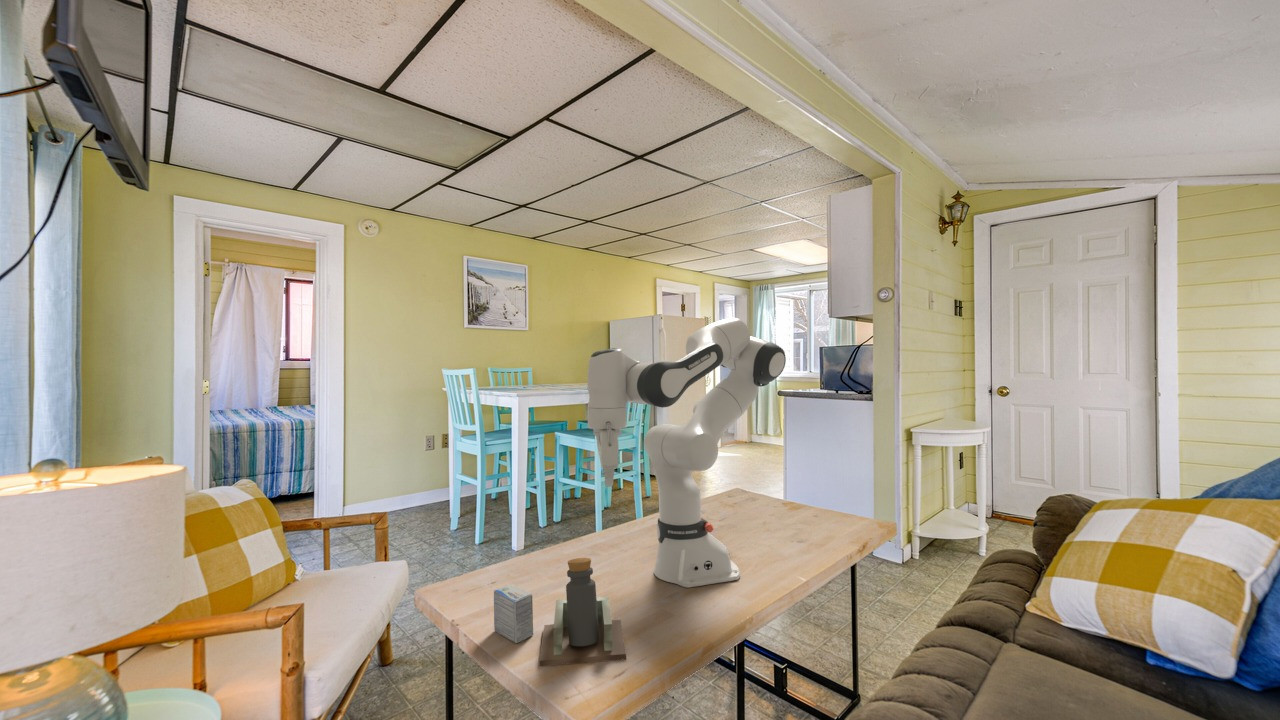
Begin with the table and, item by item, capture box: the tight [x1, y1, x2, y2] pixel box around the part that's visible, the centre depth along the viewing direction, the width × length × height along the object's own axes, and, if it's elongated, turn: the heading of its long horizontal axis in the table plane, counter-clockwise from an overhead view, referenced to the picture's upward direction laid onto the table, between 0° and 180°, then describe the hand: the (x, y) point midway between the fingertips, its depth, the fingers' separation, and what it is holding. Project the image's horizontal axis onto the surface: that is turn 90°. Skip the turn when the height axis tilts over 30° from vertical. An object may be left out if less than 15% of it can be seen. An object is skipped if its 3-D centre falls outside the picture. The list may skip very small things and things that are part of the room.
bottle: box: [565, 557, 599, 646], centre depth 100 cm, size 6×6×15 cm
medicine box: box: [493, 583, 534, 644], centre depth 104 cm, size 8×4×9 cm, turn 48°
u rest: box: [539, 596, 627, 667], centre depth 100 cm, size 16×13×6 cm
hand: (607, 481), depth 114 cm, fingers open, 8 cm apart
